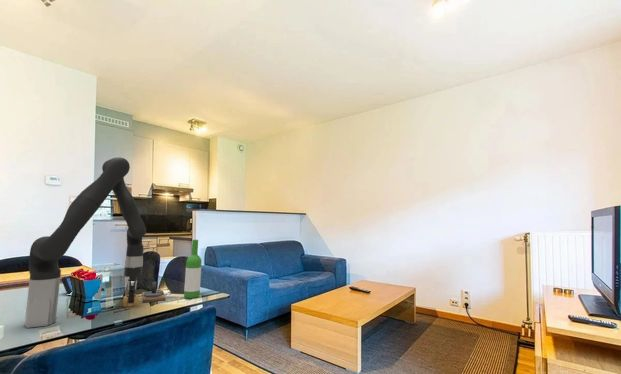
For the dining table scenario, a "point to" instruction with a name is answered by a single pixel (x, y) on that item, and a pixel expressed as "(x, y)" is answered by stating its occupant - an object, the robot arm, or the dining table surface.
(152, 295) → the bobbin stand
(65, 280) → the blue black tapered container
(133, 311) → the dining table surface
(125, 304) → the brown ribbed pot
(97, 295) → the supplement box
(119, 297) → the dining table surface
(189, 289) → the wine bottle
